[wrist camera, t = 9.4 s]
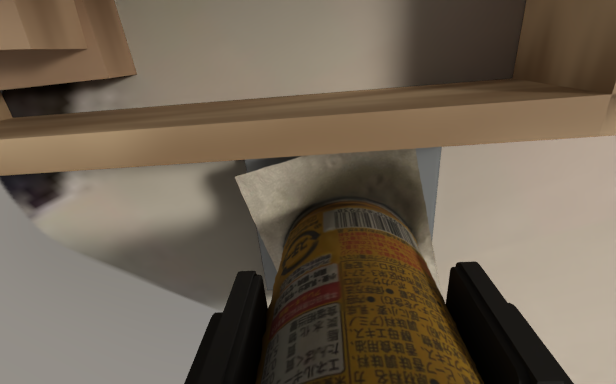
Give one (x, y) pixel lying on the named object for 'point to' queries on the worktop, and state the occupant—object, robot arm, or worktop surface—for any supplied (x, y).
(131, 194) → the worktop surface
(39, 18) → the offcut upper
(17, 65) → the offcut lower
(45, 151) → the rack
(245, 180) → the condiment
